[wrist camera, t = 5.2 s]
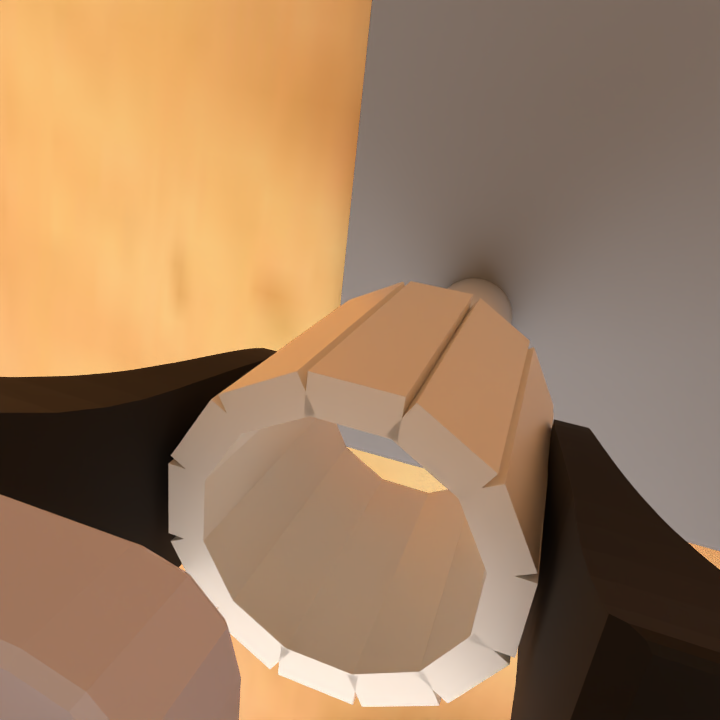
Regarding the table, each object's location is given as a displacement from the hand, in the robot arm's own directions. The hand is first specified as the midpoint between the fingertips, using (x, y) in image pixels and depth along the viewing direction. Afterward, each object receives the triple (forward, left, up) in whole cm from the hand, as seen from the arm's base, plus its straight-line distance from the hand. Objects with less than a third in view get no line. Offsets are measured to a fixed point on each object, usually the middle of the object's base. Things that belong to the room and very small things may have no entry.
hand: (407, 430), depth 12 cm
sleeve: (0, 0, -1) cm, 1 cm away
